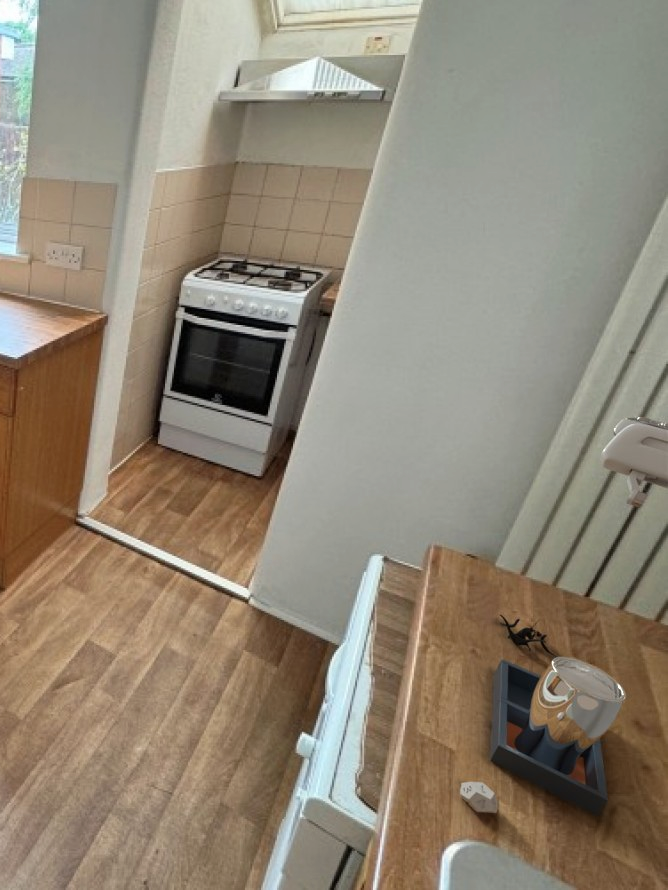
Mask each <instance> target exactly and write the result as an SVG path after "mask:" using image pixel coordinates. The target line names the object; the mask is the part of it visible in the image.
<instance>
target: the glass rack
mask: <svg viewBox="0 0 668 890" xmlns="http://www.w3.org/2000/svg"><path fill="white" fill-rule="evenodd" d="M493 676H494V677H493V694H492V712H491V713H492V714H491V731H490V733H491V735H490V754H489V755H490V756H489V761H490V762H492V763H493V764H495V765H498V766H499V767H501V768H503V769H505V770H506V771H509V772H510V773H512V774H514V775H517V776H519V777H520V778H523V779H524V780H526V781H528V782H530V783H532V784H534V785H535V786H538V787H540V788H542V789H544V790H545V791H547V792H549V793H551V794H553V795H555V796H556V797H559V798H561V799H563V800H565V801H567V802H569V803H571V804H573V806H576V807H578V808H580V809H581V810H583V811H586V812H587V813H590V814H592V815H593V816H596V817H598V816H599V815H600V814H601V812H602V810H603V809H604V807H605V806H606V805H607V803H608V802H609V799H608V798H609V797H608V789H607V782H606V774H605V767H604V760H603V759H604V758H603V751H602V744H601V738H599V739H598V740H597V741H596V742H595V743H593V744H592V745H591V746H590V747H588V748H587V749H586V750H585V751H584V752H583V753H582V754H581V755H580V756H579V758H578V760H577V762H576V766H575V771H574V775H573V777H572V778H571V777H569V776H567V775H565V774H563V773H561V772H559V771H557V770H555V769H553V768H551V767H549V766H547V765H545V764H543V763H541V762H539V761H537V760H535V759H533V758H531V757H529V756H527V755H525V754H523V753H521V752H519V751H517V750H515V749H513V748H512V745H511V741H512V739H513V737H514V736H515V735H516V734H517V733H519V732H520V731H521V730H522V729H523V727H524V726H525V724H526V722H527V719H528V714H529V709H530V704H531V699H532V695H533V692H534V689H535V687H536V685H537V683H538V681H539V679H540V677H541V676H542V675H540V674H538V673H535V672H533V671H530V669H529V670H528V669H527V668H524V667H522V666H519V665H517V664H515V663H512V662H510V661H507V660H505V659H504V658H501V659H500V661H499V663H498V665H497V667H496V669H495V671H494V674H493Z"/></svg>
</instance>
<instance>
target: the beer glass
mask: <svg viewBox="0 0 668 890" xmlns="http://www.w3.org/2000/svg"><path fill="white" fill-rule="evenodd" d="M540 676H541V677H540V679H539V681H538V683H537V685H536V687H535V689H534V692H533V695H532V699H531V704H530V709H529V714H528V719H527V722H526V724H525V726H524V727H523V729H522V730H521V731H520V732H519V733H517V734H516V735H515V736H514V737H513V739H512V741H511V745H512V748H513V749H515V750H517V751H519V752H521V753H523V754H525V755H527V756H529V757H531V758H533V759H535V760H537V761H539V762H541V763H543V764H545V765H547V766H549V767H551V768H553V769H555V770H557V771H559V772H561V773H563V774H565V775H567V776H569V777H571V778H572V777H573V775H574V771H575V766H576V762H577V760H578V758H579V756H580V755H581V754H582V753H583V752H584V751H585V750H586V749H587V748H588V747H590V746H591V745H592V744H593V743H595V742H596V741H597V740H598V739H599V738H600V739H601V738H603V736H604V735H605V734H606V733H607V732H608V731H609V729H610V728H611V727H612V725H614V723H615V721H616V718H617V717H618V715H619V713H620V710H621V708H622V705H623V703H624V701H625V699H627V694H626V691H625V689H624V687H623V686H622V684H620V683H619V682H618V680H616V679H615V678H614V677H612V676H611V675H610V674H608V673H607V672H605V671H603V670H602V669H600V668H599V667H596V666H595V665H592V664H590V663H588V662H586V661H583V660H580V659H577V658H574V657H569V656H556V657H554V658H552V660H551V662H550V664H548V666H547V667H546V669H545V670H544V671H543V673H542V675H540Z"/></svg>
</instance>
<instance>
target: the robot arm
mask: <svg viewBox="0 0 668 890" xmlns="http://www.w3.org/2000/svg"><path fill="white" fill-rule="evenodd" d="M613 435H614V436H613V437H612V439H611V440H610V441H609V442H608V443H607V445H606V446H605V447H604V449H603V450H602V451H601V453H600V456H599V462H600V464H601V466H602V467H603V468H604V469H606V470H609V471H612V472H614V473H618V474H621V475H625V476H627V480H626V485H627V486H628V490H629V493H630V494H629V496H628V498H627V499H626V503H625V504H628V505H630V506H632V507H636V508H639V509H642V508H643V506H644V504H645V503H646V502H647V500H648V498H649V494H648V493H646V492H642V491H641V489H640V487H641V486H642V485H643V483H644V482H647V483H649V484H652V485H655V486H658V487H661V488H665V489H668V423H667V422H662V421H656V420H654V419H652V418H648V417H644V416H638V417H626V418H623V419H621V420H619V421H618V422H617V424H616V426H615V427H614V428H613Z"/></svg>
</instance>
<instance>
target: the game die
mask: <svg viewBox="0 0 668 890" xmlns="http://www.w3.org/2000/svg"><path fill="white" fill-rule="evenodd" d="M459 796H460V797H461V799H462V800H463V801H465V802H466V803H467V805H468V806H469V807H471V808H472V810H474V811H475V812H476V813H485V814H487V813H488V814H496V813H498V807H499V800H498V798H497V796H496V793H495V792H494V791H493V790H492V789H491V788H489V787H488V786H487V785H486V784H485V783H484V782H482V781H464V782H461V784H460V790H459Z"/></svg>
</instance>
